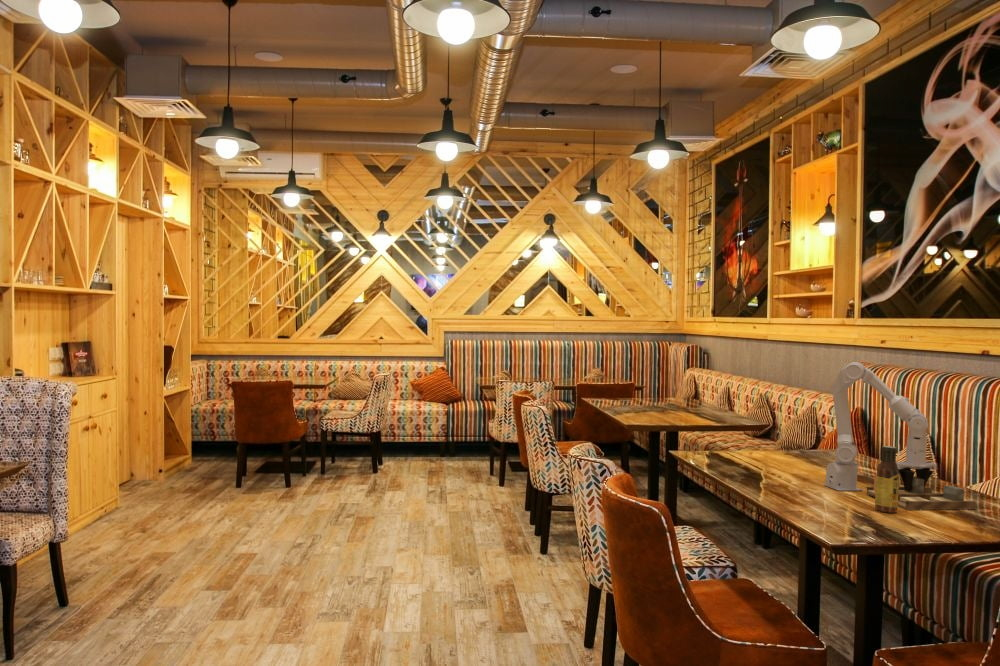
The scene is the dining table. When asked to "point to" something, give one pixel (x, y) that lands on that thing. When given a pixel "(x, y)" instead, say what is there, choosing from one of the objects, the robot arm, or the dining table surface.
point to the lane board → (934, 499)
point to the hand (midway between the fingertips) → (913, 490)
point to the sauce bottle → (887, 481)
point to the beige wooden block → (915, 489)
